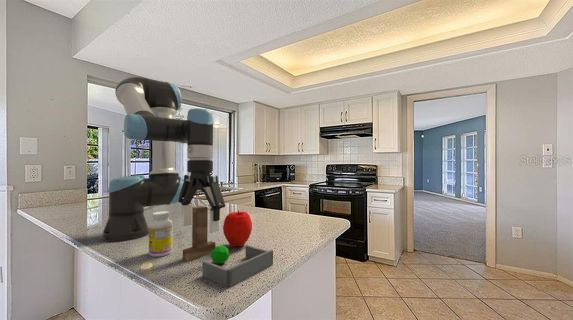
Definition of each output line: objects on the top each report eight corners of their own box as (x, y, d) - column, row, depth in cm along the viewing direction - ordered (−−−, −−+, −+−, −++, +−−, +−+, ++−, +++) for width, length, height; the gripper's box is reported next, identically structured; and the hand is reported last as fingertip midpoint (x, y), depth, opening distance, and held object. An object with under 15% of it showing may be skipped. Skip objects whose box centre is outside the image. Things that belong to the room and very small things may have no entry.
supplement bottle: (150, 251, 81) (150, 211, 81) (172, 248, 83) (173, 210, 84) (147, 258, 75) (147, 215, 75) (171, 255, 77) (172, 213, 77)
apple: (236, 253, 80) (236, 214, 80) (216, 246, 86) (216, 210, 86) (257, 244, 88) (258, 209, 88) (238, 239, 94) (238, 206, 94)
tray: (202, 275, 64) (202, 259, 64) (247, 256, 77) (247, 243, 77) (229, 287, 58) (229, 269, 58) (272, 264, 71) (273, 250, 71)
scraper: (181, 259, 74) (182, 208, 74) (209, 250, 82) (210, 204, 83) (188, 262, 72) (188, 210, 73) (216, 252, 80) (216, 205, 81)
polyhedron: (210, 261, 73) (210, 244, 73) (227, 258, 75) (227, 242, 75) (212, 267, 69) (212, 250, 69) (230, 265, 70) (230, 247, 71)
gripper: (167, 159, 82) (166, 225, 82) (216, 158, 67) (216, 238, 67) (187, 160, 88) (187, 220, 88) (237, 159, 73) (237, 231, 73)
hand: (200, 228), depth 77 cm, fingers open, 13 cm apart
